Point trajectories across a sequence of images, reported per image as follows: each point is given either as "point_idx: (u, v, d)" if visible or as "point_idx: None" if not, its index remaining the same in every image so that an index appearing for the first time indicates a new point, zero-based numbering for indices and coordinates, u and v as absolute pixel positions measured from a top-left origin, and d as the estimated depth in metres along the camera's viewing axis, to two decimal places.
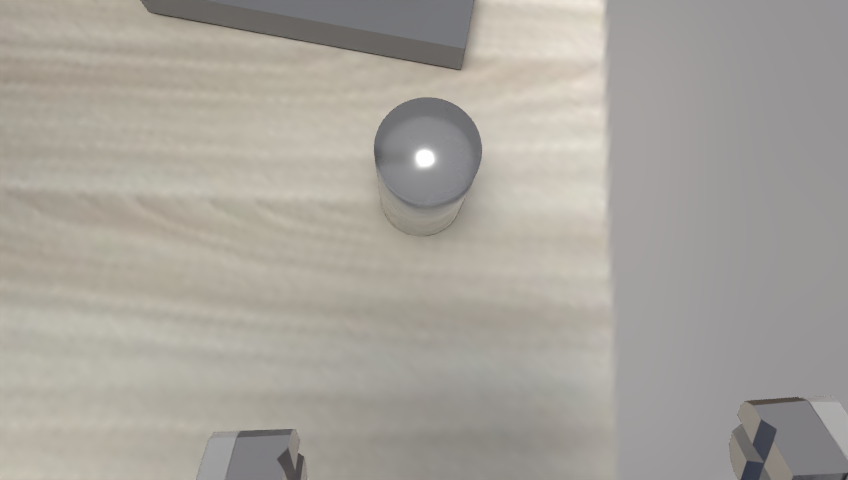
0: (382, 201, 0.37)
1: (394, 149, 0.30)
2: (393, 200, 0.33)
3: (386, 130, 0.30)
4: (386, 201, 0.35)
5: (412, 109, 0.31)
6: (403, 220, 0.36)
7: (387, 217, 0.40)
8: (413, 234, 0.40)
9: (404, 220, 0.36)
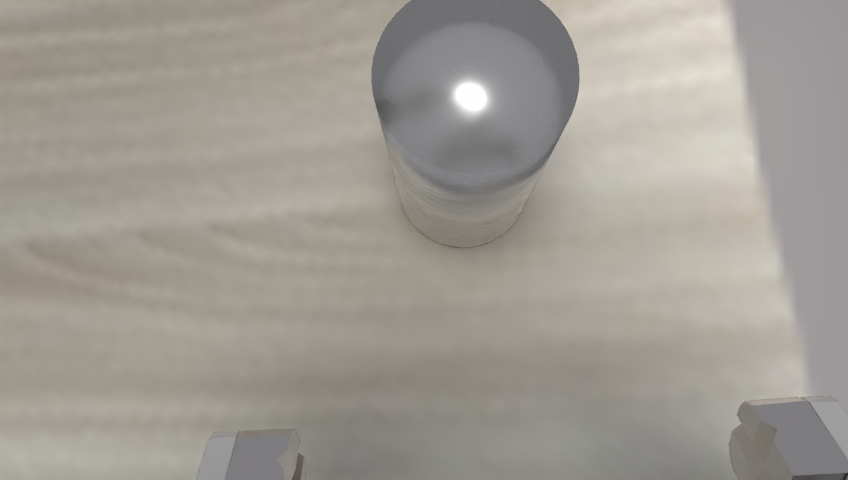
0: (402, 198, 0.23)
1: (411, 82, 0.16)
2: (421, 185, 0.18)
3: (392, 51, 0.16)
4: (409, 193, 0.20)
5: (435, 6, 0.16)
6: (441, 223, 0.21)
7: (414, 224, 0.25)
8: (458, 246, 0.25)
9: (443, 223, 0.21)
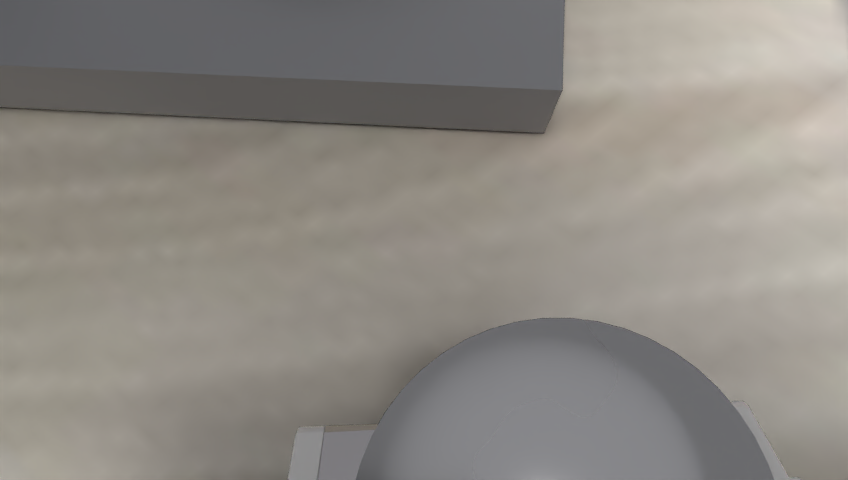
0: None
1: None
2: None
3: (391, 479, 0.08)
4: None
5: (480, 375, 0.08)
6: None
7: None
8: None
9: None
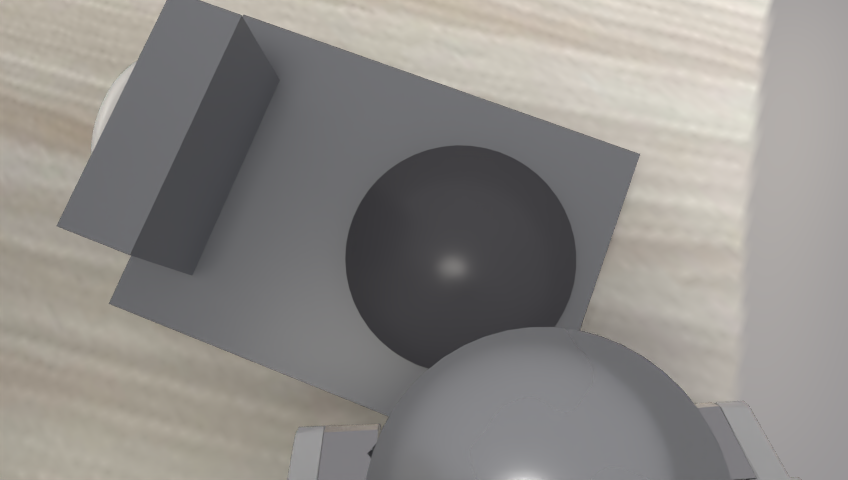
0: None
1: None
2: None
3: (399, 465, 0.09)
4: None
5: (475, 376, 0.09)
6: None
7: None
8: None
9: None
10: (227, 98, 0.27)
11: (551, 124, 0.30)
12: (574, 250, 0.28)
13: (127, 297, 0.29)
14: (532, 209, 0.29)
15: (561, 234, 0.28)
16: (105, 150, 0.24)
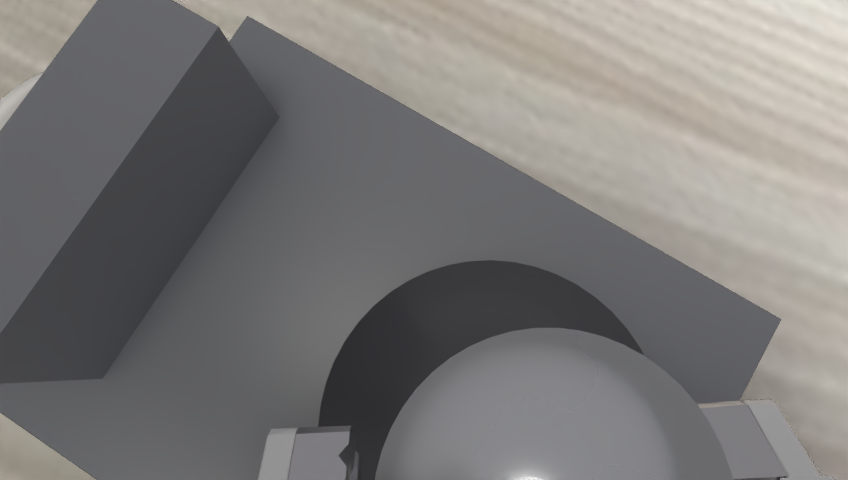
0: None
1: None
2: None
3: (408, 463, 0.09)
4: None
5: (482, 376, 0.09)
6: None
7: None
8: None
9: None
10: (181, 146, 0.17)
11: (656, 250, 0.21)
12: None
13: (6, 393, 0.20)
14: None
15: None
16: None
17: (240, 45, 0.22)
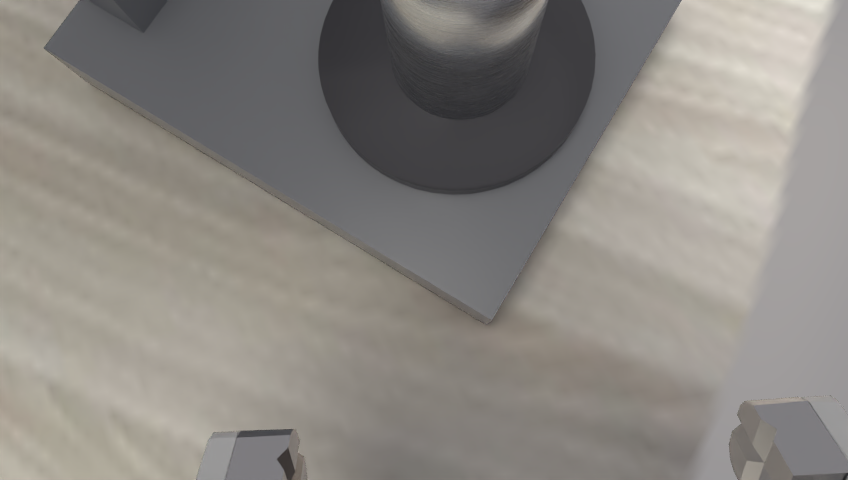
0: (394, 50, 0.21)
1: None
2: None
3: None
4: (399, 26, 0.18)
5: None
6: (436, 69, 0.19)
7: (407, 94, 0.23)
8: (455, 117, 0.23)
9: (438, 68, 0.19)
10: None
11: None
12: (593, 69, 0.23)
13: (65, 44, 0.25)
14: (551, 15, 0.24)
15: (581, 48, 0.24)
16: None
17: None
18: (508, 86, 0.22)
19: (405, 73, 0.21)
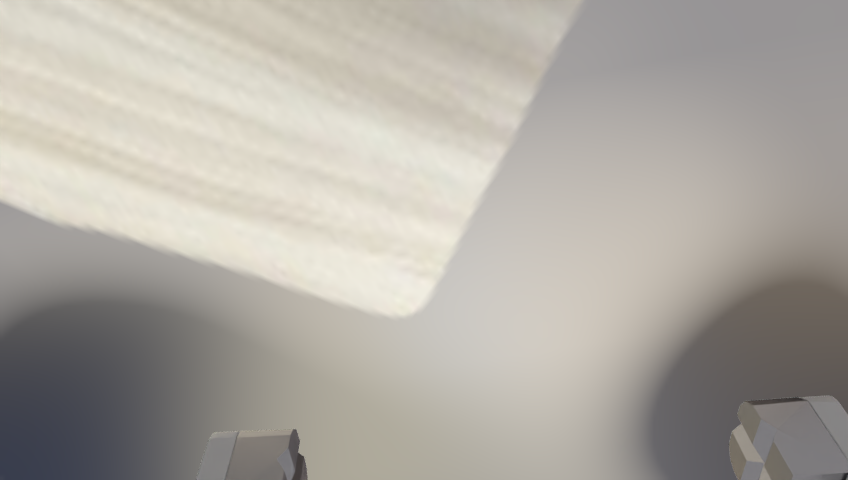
0: None
1: None
2: None
3: None
4: None
5: None
6: None
7: None
8: None
9: None
10: None
11: None
12: None
13: None
14: None
15: None
16: None
17: None
18: None
19: None
